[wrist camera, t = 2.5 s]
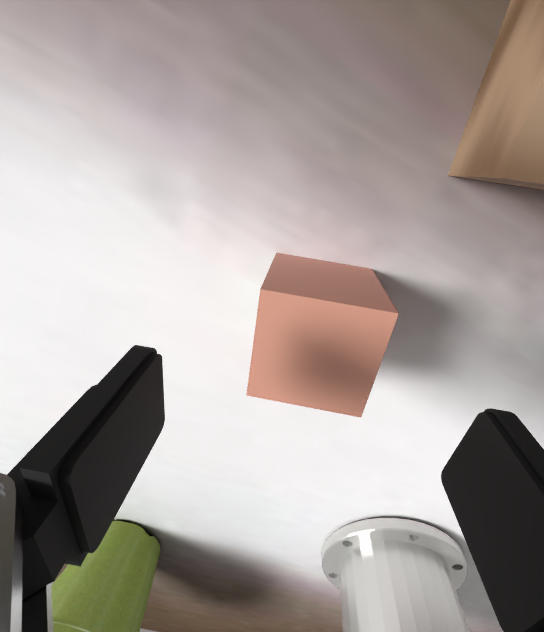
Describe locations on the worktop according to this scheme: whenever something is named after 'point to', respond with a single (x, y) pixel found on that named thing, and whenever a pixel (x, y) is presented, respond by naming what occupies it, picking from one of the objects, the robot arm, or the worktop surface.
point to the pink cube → (319, 334)
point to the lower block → (509, 106)
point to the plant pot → (108, 584)
